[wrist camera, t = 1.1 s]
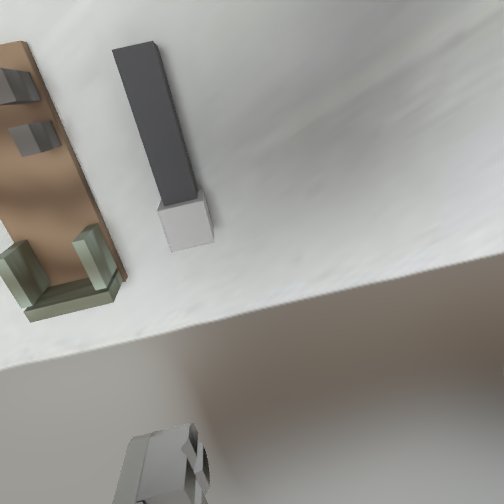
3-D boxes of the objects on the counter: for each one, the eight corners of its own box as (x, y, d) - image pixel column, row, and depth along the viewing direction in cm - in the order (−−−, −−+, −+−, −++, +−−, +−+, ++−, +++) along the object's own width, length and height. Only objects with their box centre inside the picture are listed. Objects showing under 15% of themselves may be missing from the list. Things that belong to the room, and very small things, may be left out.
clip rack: (-80, 64, 25) (-142, 57, 20) (26, 42, 25) (-12, 30, 20) (51, 294, 34) (29, 324, 30) (127, 276, 34) (116, 303, 30)
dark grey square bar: (114, 55, 26) (100, 49, 23) (163, 45, 26) (157, 37, 23) (174, 235, 33) (171, 252, 30) (212, 226, 33) (214, 242, 30)
